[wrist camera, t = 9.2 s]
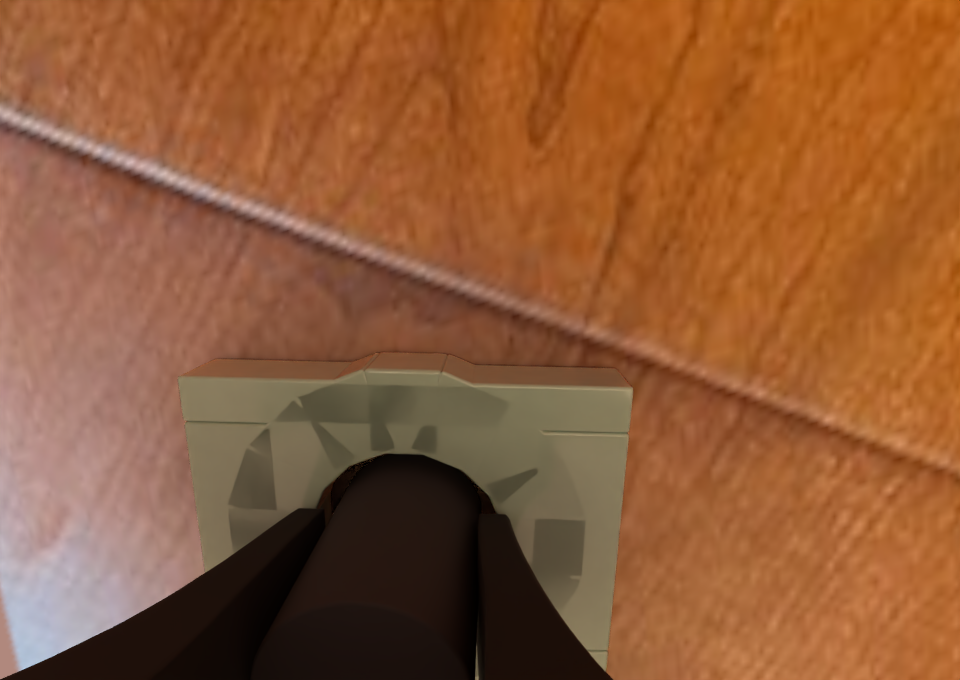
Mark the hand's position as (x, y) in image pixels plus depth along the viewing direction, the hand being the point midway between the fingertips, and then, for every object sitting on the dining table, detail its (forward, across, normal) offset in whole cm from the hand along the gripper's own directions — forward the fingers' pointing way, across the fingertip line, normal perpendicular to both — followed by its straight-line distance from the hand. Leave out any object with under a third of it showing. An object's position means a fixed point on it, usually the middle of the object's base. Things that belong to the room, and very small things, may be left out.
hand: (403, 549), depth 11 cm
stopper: (+1, 0, 0) cm, 1 cm away
